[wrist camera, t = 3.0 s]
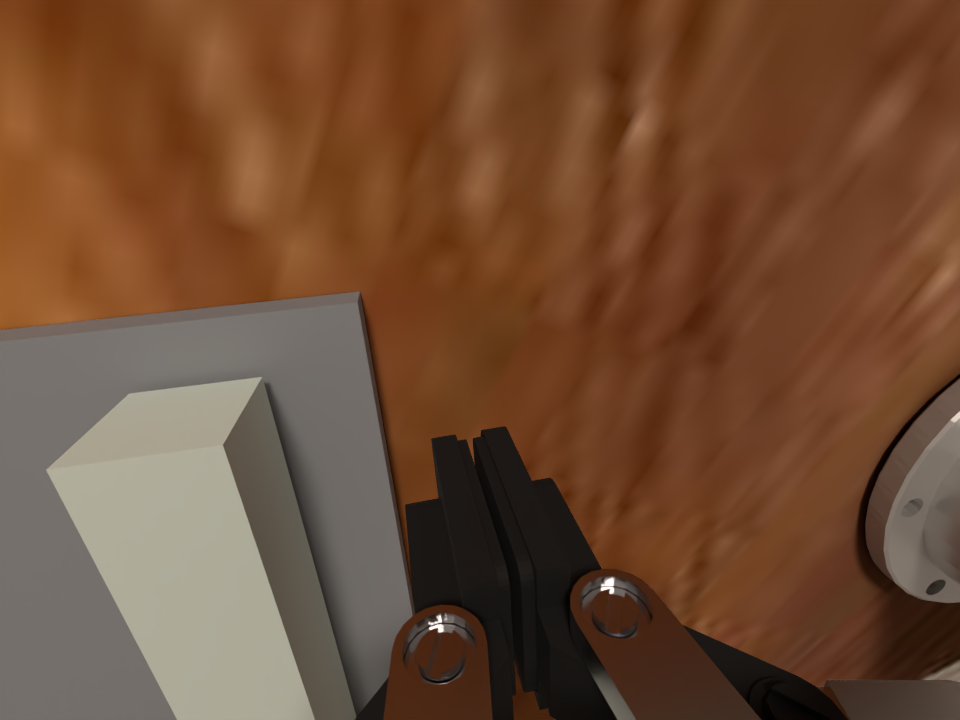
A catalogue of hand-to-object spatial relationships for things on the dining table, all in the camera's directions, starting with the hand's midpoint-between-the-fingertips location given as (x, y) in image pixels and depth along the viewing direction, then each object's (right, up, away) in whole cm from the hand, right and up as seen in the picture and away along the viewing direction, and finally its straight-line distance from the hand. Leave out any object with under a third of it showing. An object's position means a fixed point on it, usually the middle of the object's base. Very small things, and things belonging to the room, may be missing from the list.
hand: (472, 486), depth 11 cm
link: (-6, -6, +4) cm, 9 cm away
